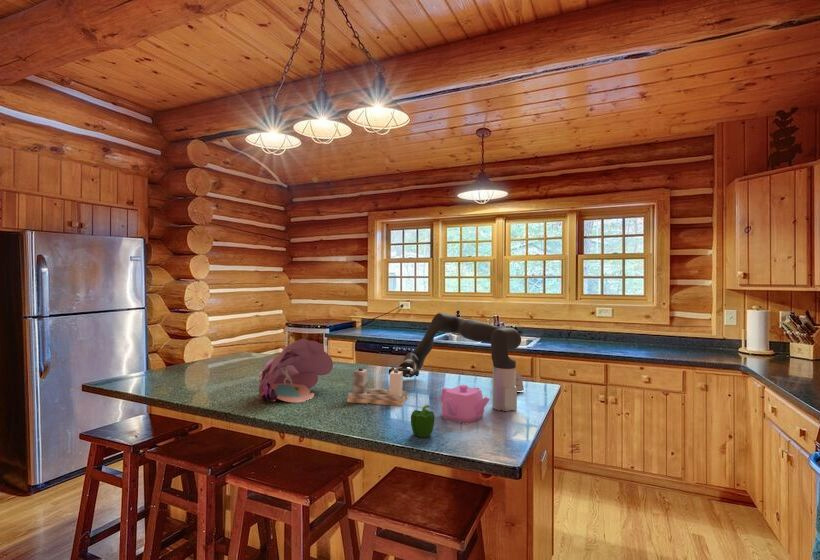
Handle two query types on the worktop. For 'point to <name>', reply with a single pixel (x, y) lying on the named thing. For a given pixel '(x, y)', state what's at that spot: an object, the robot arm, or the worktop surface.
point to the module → (395, 383)
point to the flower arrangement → (294, 372)
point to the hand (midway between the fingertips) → (401, 374)
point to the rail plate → (372, 392)
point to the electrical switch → (519, 382)
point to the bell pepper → (422, 422)
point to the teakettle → (463, 404)
